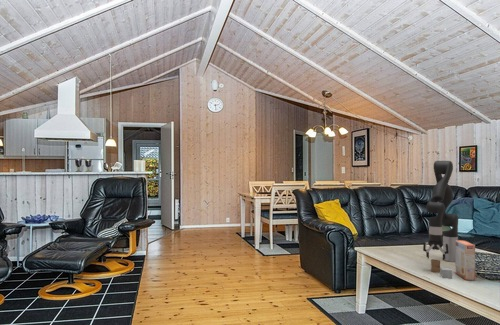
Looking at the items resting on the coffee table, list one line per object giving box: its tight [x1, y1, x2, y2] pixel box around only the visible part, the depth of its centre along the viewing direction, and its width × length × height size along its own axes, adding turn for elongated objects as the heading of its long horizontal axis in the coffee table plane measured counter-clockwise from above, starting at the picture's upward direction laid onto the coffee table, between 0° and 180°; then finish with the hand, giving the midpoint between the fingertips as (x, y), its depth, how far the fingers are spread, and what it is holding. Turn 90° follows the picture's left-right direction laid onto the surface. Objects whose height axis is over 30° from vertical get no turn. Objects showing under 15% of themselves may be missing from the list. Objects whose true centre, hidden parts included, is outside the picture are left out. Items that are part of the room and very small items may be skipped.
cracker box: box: [455, 239, 476, 281], centre depth 215 cm, size 14×6×21 cm, turn 170°
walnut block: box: [430, 259, 441, 274], centre depth 227 cm, size 5×5×7 cm
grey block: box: [440, 267, 453, 280], centre depth 215 cm, size 5×5×5 cm
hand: (435, 259), depth 227 cm, fingers open, 8 cm apart
